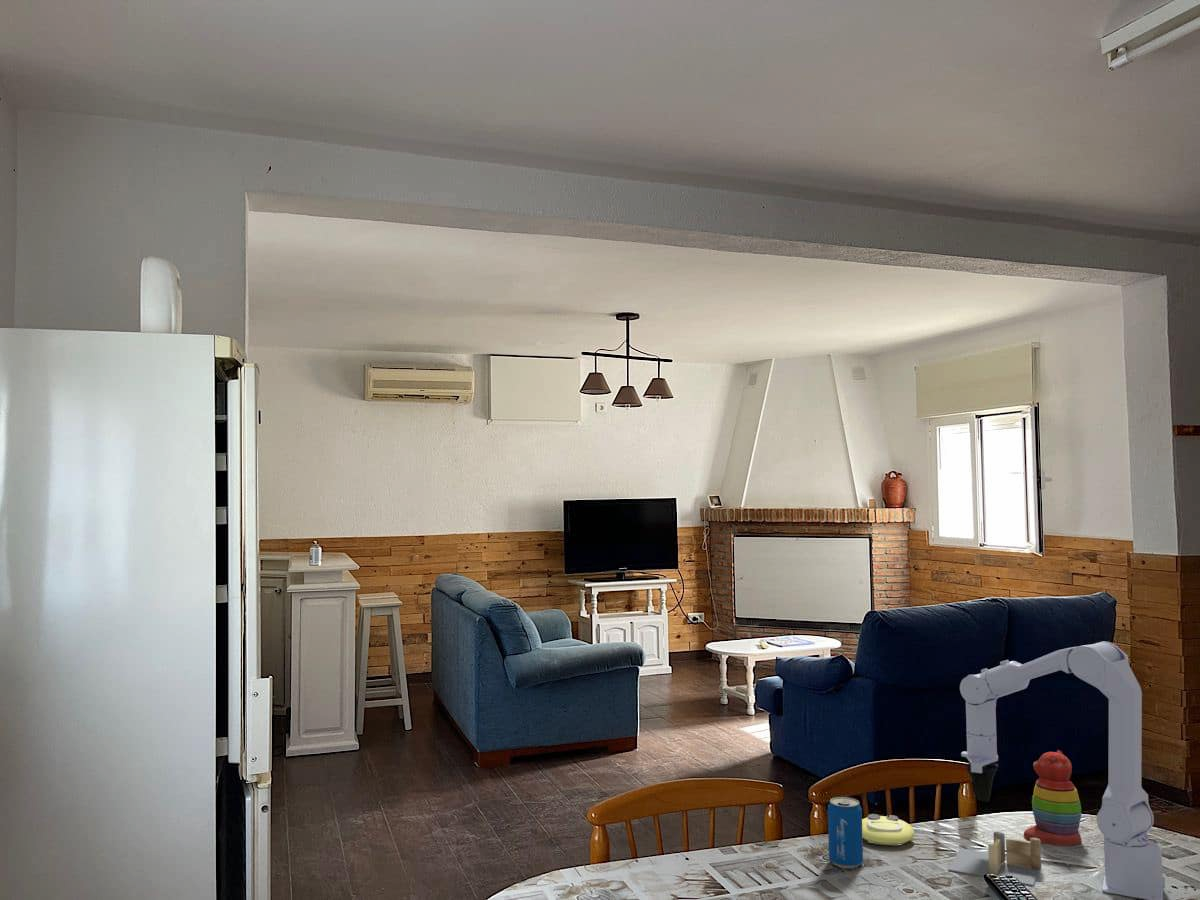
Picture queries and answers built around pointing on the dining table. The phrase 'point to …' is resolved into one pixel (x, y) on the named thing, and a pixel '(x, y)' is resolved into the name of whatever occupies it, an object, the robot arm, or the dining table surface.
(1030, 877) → the card
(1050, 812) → the stacking bear
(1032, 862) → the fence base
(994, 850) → the fence panel
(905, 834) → the emoji
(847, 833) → the beverage can
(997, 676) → the robot arm
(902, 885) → the dining table surface
